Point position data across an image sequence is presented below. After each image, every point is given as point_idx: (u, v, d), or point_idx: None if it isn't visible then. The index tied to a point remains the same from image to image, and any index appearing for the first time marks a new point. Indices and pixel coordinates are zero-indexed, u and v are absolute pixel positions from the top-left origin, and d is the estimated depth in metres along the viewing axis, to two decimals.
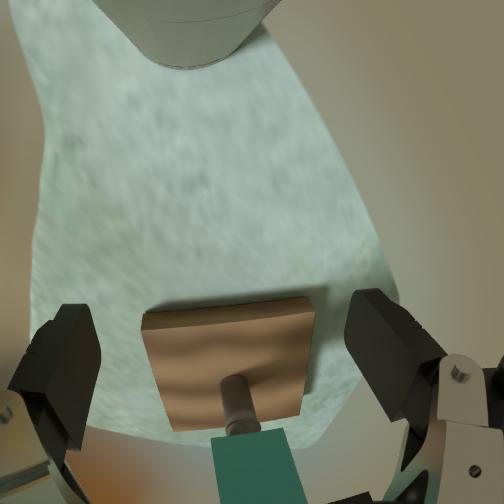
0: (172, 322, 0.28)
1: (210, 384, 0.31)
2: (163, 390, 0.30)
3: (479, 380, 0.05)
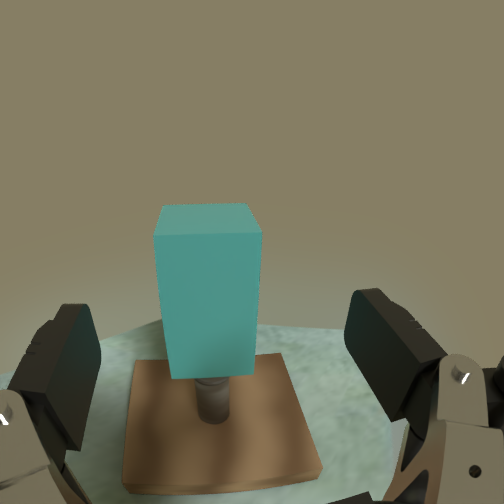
0: None
1: (211, 432, 0.26)
2: (222, 477, 0.21)
3: (479, 380, 0.05)
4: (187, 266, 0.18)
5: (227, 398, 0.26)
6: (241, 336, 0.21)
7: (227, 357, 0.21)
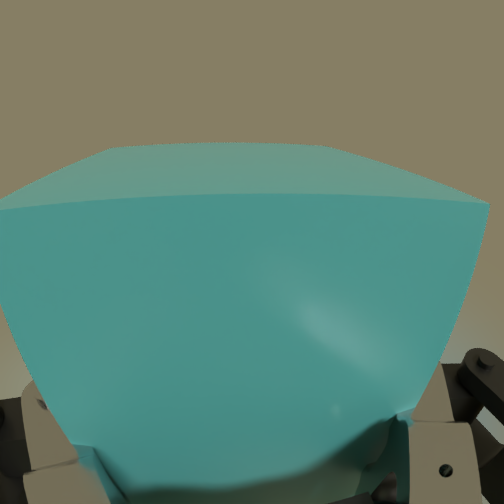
0: None
1: None
2: None
3: (436, 374, 0.05)
4: (157, 367, 0.03)
5: None
6: (329, 495, 0.06)
7: None
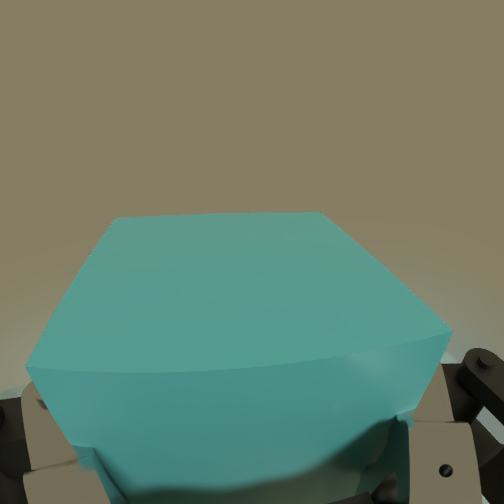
0: None
1: None
2: None
3: (436, 374, 0.05)
4: (179, 454, 0.04)
5: None
6: None
7: None
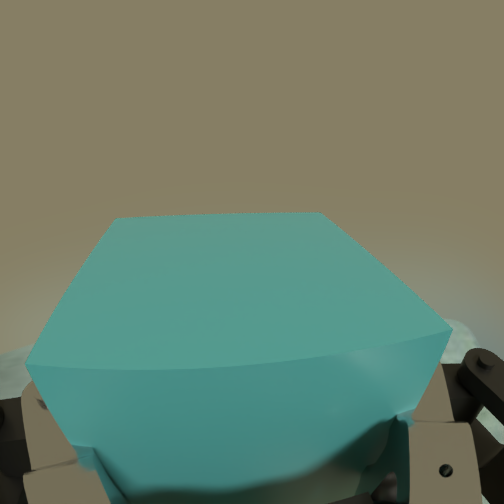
0: None
1: None
2: None
3: (436, 374, 0.05)
4: (177, 453, 0.04)
5: None
6: None
7: None
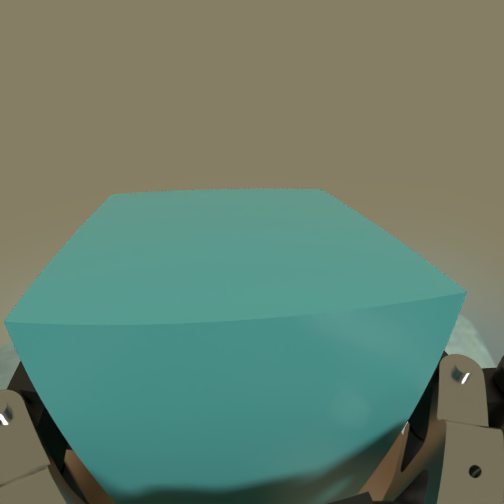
0: None
1: None
2: None
3: (479, 380, 0.05)
4: (169, 432, 0.04)
5: None
6: None
7: None
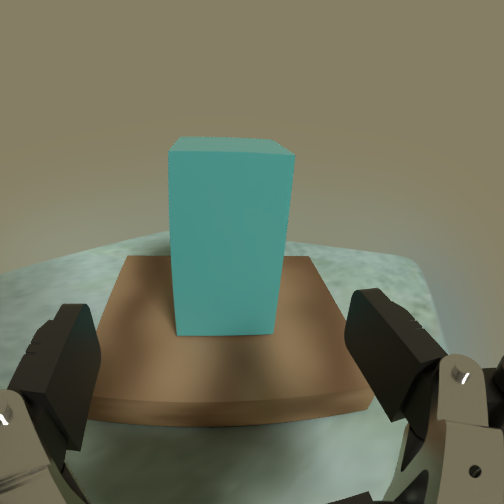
0: None
1: None
2: (231, 393, 0.16)
3: (479, 380, 0.05)
4: (205, 190, 0.15)
5: None
6: (262, 284, 0.18)
7: (244, 310, 0.19)
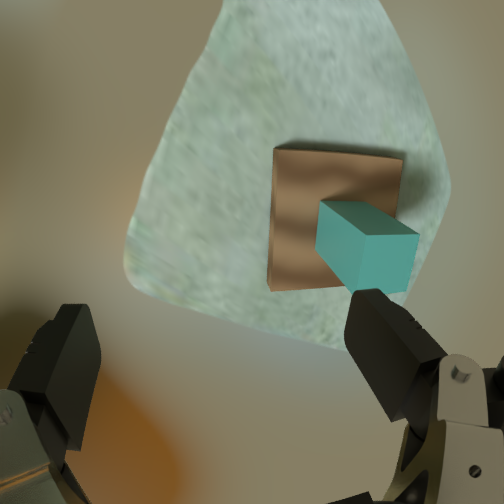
0: (302, 150, 0.34)
1: None
2: (279, 226, 0.36)
3: (479, 380, 0.05)
4: (353, 246, 0.28)
5: None
6: (327, 254, 0.34)
7: (322, 240, 0.35)
